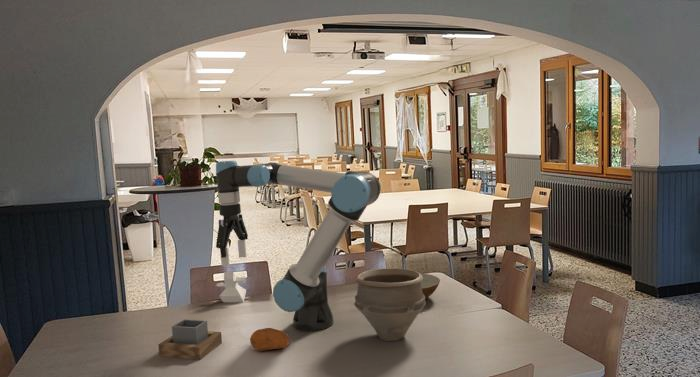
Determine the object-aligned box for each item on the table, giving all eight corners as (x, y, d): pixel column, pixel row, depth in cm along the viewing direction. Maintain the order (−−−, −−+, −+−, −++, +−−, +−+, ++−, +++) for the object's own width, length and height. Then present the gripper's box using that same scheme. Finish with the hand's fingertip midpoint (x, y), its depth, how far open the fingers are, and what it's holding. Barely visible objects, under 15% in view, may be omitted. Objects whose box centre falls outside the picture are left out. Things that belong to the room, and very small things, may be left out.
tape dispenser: (221, 297, 233) (219, 267, 232) (251, 297, 232) (249, 267, 230) (214, 303, 225) (212, 272, 224) (245, 303, 223) (243, 272, 222)
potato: (254, 345, 176) (253, 325, 176) (291, 344, 175) (290, 324, 174) (248, 354, 169) (247, 333, 168) (287, 353, 168) (286, 332, 167)
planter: (344, 346, 172) (341, 281, 170) (367, 320, 195) (364, 263, 192) (418, 353, 163) (415, 285, 161) (433, 326, 186) (431, 266, 184)
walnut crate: (221, 343, 179) (221, 332, 179) (200, 359, 166) (199, 347, 166) (183, 340, 184) (182, 329, 183) (159, 356, 171) (158, 344, 170)
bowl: (445, 307, 206) (444, 287, 206) (382, 309, 207) (381, 290, 206) (435, 289, 231) (435, 271, 231) (379, 291, 232) (378, 273, 231)
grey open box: (208, 343, 177) (207, 320, 176) (197, 351, 170) (195, 328, 170) (185, 341, 179) (184, 319, 179) (173, 349, 173) (171, 326, 172)
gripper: (235, 199, 199) (240, 253, 201) (202, 208, 175) (207, 270, 177) (253, 199, 197) (258, 253, 199) (222, 208, 173) (227, 270, 175)
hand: (234, 261), depth 188 cm, fingers open, 13 cm apart
